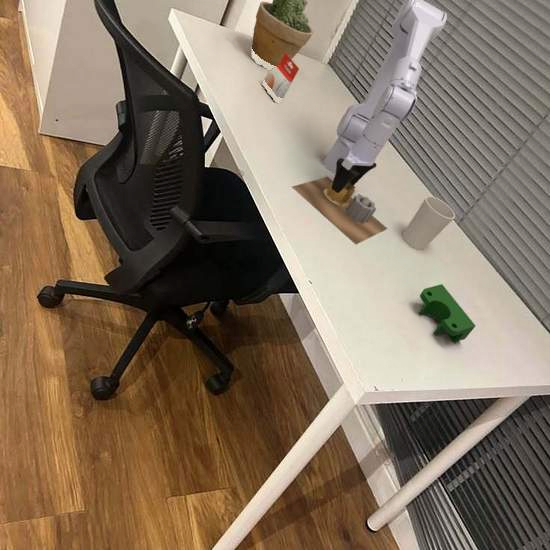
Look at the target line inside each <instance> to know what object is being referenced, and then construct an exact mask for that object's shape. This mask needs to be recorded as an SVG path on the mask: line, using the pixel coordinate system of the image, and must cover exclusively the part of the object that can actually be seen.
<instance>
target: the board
mask: <svg viewBox="0 0 550 550" xmlns="http://www.w3.org/2000/svg"><path fill="white" fill-rule="evenodd" d="M332 181H333V179H331V178H330V177H328V176H324V177H322V178H318V179H313V180H310V181H307V182H304V183H301V184H296V185H293V186H291V188H292V189H293V190H295V191H296V193H298V194H299V195H300V196H301V197H302V199H303V200H305V201H306V202H308V203H309V204H310V205H311V206H312V207H313V208H314V209H316V211H318V212H319V213H320V214H321V215H322V216H323V217H324V218H325V219H326V220H327V221H329V222H330V223H331V224H332V225H333V226H334V227H336V229H338V230H339V231H340V232H341V233H342V234H343V235H344V236H345V237H347V238H348V239H349V240H350V241H351V242H352V243H353V244H355V245H358V244H360V243H362V242H364V241H366V240H368V239H370V238H372V237H375V236H376V235H378V234H380V233H382V232H384V231H386V230H388V227H387V226H385V224H383V223H382V222H381V221H379V220H378V219H377V218H376V217H375V216H374V214H373V215H372V216H371V217H370V219H369V220H368V222H365V223H364V224H362V223H360V222H358V221H354V219H352V218H351V217H350V216H348V215H347V213H348V212H347V210H346V208H347V207H348V205H349V204H350V202H351V201H352V199H353V198H354V197H353V196H352V197H351V199H350V200H349V202H348V203H347V204H346V205H345V204H342V205H339V204H338V203H336V202H333V201H332V200H331V198H330V197H329V196H327V195H326V193H327V191H326V190H327V189H328V187H329V185H330V184H331V182H332ZM348 184H349V183H348ZM348 184H347V185H348ZM347 185H346V186H345V188H346V187H347ZM369 200H370V199H369ZM369 200H368V199H367V198H364V199H363V201H362V202H361V203H362V204H363V205H365V206H368V204H369V203H370V201H369Z"/></svg>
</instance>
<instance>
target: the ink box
mask: <svg viewBox="0 0 550 550" xmlns="http://www.w3.org/2000/svg"><path fill="white" fill-rule="evenodd" d="M287 61H289V63H291V66H292V67H291V66H290V65H289V63H288V64H287ZM299 70H300V68H299V67H298V66H297V64H296V63H295V62H294V61H293V59H292V60H291V59H290V58H289V56H288V55H287V54H286V53H284V56H283V58H282V60H281V62H280V64H279V65H278V66H276V67H274V68H272V69H271V70H270V71H269V70H268V71H267V74H266V75H265V77H264V80H265V82H266V83H267V85H268V86H269V87H270V88H271V89H272V91H273V92H274V93H275V95H276V96H277V97H280V98H283V99H284V98H285V96H286V94H287V93H288V91H289V89H290V87H291V86H292V84H293V81H294V80H295V78H296V76H297V73H298V72H299ZM264 80H263V81H264Z"/></svg>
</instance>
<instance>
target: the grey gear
mask: <svg viewBox="0 0 550 550" xmlns="http://www.w3.org/2000/svg"><path fill="white" fill-rule="evenodd" d="M352 198H353V199H352V201H351V202H350V204H349V205H348V207H347V208H346V210H347V212H348V213H347V215H348V216H350V217H351V218H352V219H354V221H358V222H360V223H362V224H364V223H365V222H368V220H369V219H370V217H371V216H372V215H373V216H374V213H375V212H376V210H377V207H376V204H375V202H374V201H372V200H371V199H370V198H369V197H368V196H364V195H361V193H358V194H357V195H354V196H353V197H352ZM364 198H367V199H368V200H369V201H370V203H369V204H368V206H365V205H363V204H362V203H361V202H362V201H363V199H364Z"/></svg>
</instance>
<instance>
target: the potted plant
mask: <svg viewBox="0 0 550 550" xmlns="http://www.w3.org/2000/svg"><path fill="white" fill-rule="evenodd" d="M307 5H308V0H272V2H269V1H268V2H267V1H261V2H260V4H259V5H258V10H257V12H256V15H255V20H256V21H255V23H254V27H253V36H252V43H251V47H252V49H253V51H254V52H255V54H257V55H258V56H259V57H260V58H261V59H263V60H264V61H266V62H268V63H270V64H271V65H274V66H278V65H279V64H280V62H281V60H282V58H283V56H284V53H286V54H287V55H288V56H289V58H290V59H291V60H292V61H293V59H294V57H296V55H297V54H298V53H299V52H300V51H301V49H302V48H303V46H305V45H306V44H307V43H308V41H309V40H310V38H312V35H313V34H314V30H313V29H312V27H311V26H310V25H309V22H310V20H309V19H308V17H307V14H305V13H304V11H305V8H306V6H307ZM289 63H290V62H289V61H287V64H288V65H289Z"/></svg>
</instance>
